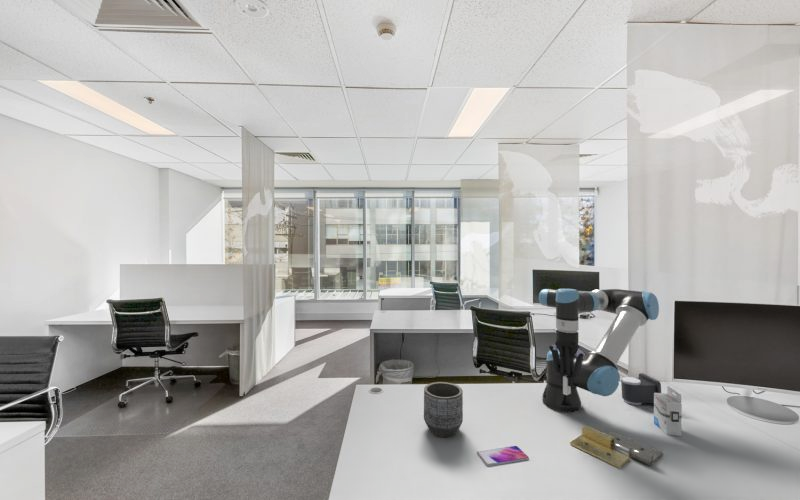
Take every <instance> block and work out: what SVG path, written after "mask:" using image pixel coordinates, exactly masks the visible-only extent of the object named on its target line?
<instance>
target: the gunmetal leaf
mask: <svg viewBox="0 0 800 500" xmlns="http://www.w3.org/2000/svg"><path fill="white" fill-rule="evenodd" d="M607 434H608V435H610V436H612V437H614V442H612V441H611V445H613V446H614V448H617V449H620V450H621V451H624V452H626V453H628V456H629V457H630V458H632V459H635V460H636V461H639V462H641V463H642V464H643V463H644V464H645V465H647V466H653V465H654V464H655V463H656V462H657V461H658V460H659V459H660V458H661V457H662V456H663V455H664V453H663V451H661V450H658V449H656V448H654V447H652V446H649V445H646V444H644V443H642V442H640V441H638V440H637V441H636V440H634V439H631V438H630V437H627V436H625V435H622V434H620V433H617V432H616V431H609V432H608V433H607Z"/></svg>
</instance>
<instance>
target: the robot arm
mask: <svg viewBox="0 0 800 500" xmlns="http://www.w3.org/2000/svg"><path fill="white" fill-rule="evenodd" d="M538 302H539V303H540V305H541V306H543V307H547V308H555V314H556V316H555V328H556V330H555V339H556V340H555V343H554V344H552V345H549V346H548V348H549V351H547V353H546V359H545V361H546V385H545V387H544V391H543V392H542V396H541V397H542V403H543V405H545V406H546V407H548V408H550V409H552V410H555V411H559V412H563V413H577V412H580V411H581V410H582V401H581V397H580V394H579V391H578V388H579V389H582V390H585V391H587V392H589V393H591V394H593V395H598V396H601V397H609V396H612V395H613V394H614V393H615V392H616V391H617V390H618V387H619V385H620V382H621V380H620V379H621V376H620V372H619V368H618V365H617V364H618V363H619V361H620V359H621V357H622V356H623V355H624V352H625V351H626V349H627V347H628V345H629V344H630V342H631V340H632V339H633V336H635V334H636V332H637V330H638V328H639V327H642V326H645V325H646V323H647V322H648V320H650V321H652V320H653V321H655V320H657V318H658V317H659V314H660V308H659V307H660V306H659V300H658V298H657V296H656V295H655V294H654V293H652V292H649V291H639V290H637V291H636V290H628V289H619V288H610V289H608V288H607V289H594V290H591V291H589V290H588V291H587V290H586V291H585V290H578V289H574V288H558V289H553V288H552V289H551V288H543V289H541V290H540V292H539V294H538ZM595 311H603V312H607V313H611V314H615V315H616V316H615V318H614V319H613V321H612V323H611V324H610V325H609V327H608V329H607V331H606V332H605V333H604V335H603V337H602V338H601V340H600V342H599V343H598V345H596V348H595V350H594V351H588V352H587V353H586V352H584V351H582V350H581V349H580V345H579V332H578V331H579V328H580V327H579V314H583V313H585V314H586V313H589V314H590V313H591V312H595Z"/></svg>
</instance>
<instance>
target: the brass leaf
mask: <svg viewBox="0 0 800 500" xmlns="http://www.w3.org/2000/svg"><path fill="white" fill-rule="evenodd" d="M611 441H612V442H614V437H612V436H610V435H608V433H605V432H602V431H600V430H598V429H595V428H594V427H591V426H588V425H584V426H582V427H581V434H580V435H579V436H577V437H576V438H574V439H573V440H571V441H570V442H569V445H570V446H572V447H575V448H577V449H579V450H581V451H583V452H585V453H587V454H589V455H591V456H593V457H595V458H596V459H597V458H598V459H599V460H601V461H603V462H606V463H607V464H609V465H612V466H614V467H616V468H618V469H620V468H622V467H623V466H624V465H625V464H626V463H627V462H629V461H630V459H631V457H630V456H629V455H626V454H624V453H622V452H619V451H617V450H616V449H613V448H615V446H613V445H611Z"/></svg>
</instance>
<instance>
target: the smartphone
mask: <svg viewBox="0 0 800 500" xmlns="http://www.w3.org/2000/svg"><path fill="white" fill-rule="evenodd" d="M476 455H477V456H478V457H479V459H481V461H482V462H483V464H484V465H485V466H486V467H493V466H499V465H505V464H511V463H512V464H513V463H517V462H518V463H519V462H523V461H528V460H529V459H530V458H529V456H528V455H527V454H526V453H525V452H524V451H523V450H522V449H521V448H520V447H519V446H518V445H511V446H505V447H497V448H493V449H492V448H491V449H486V450H480V451H476Z"/></svg>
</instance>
